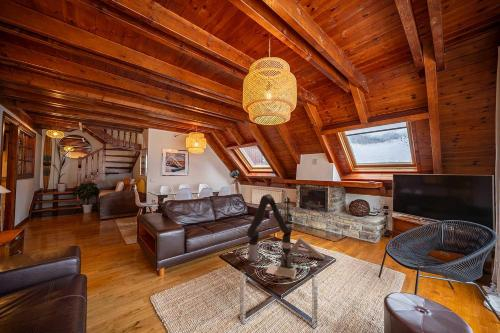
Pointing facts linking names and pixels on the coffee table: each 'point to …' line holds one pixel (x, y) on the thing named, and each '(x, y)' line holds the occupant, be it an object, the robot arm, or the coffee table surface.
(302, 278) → the coffee table surface
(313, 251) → the wall bracket
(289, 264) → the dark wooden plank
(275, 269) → the well board
